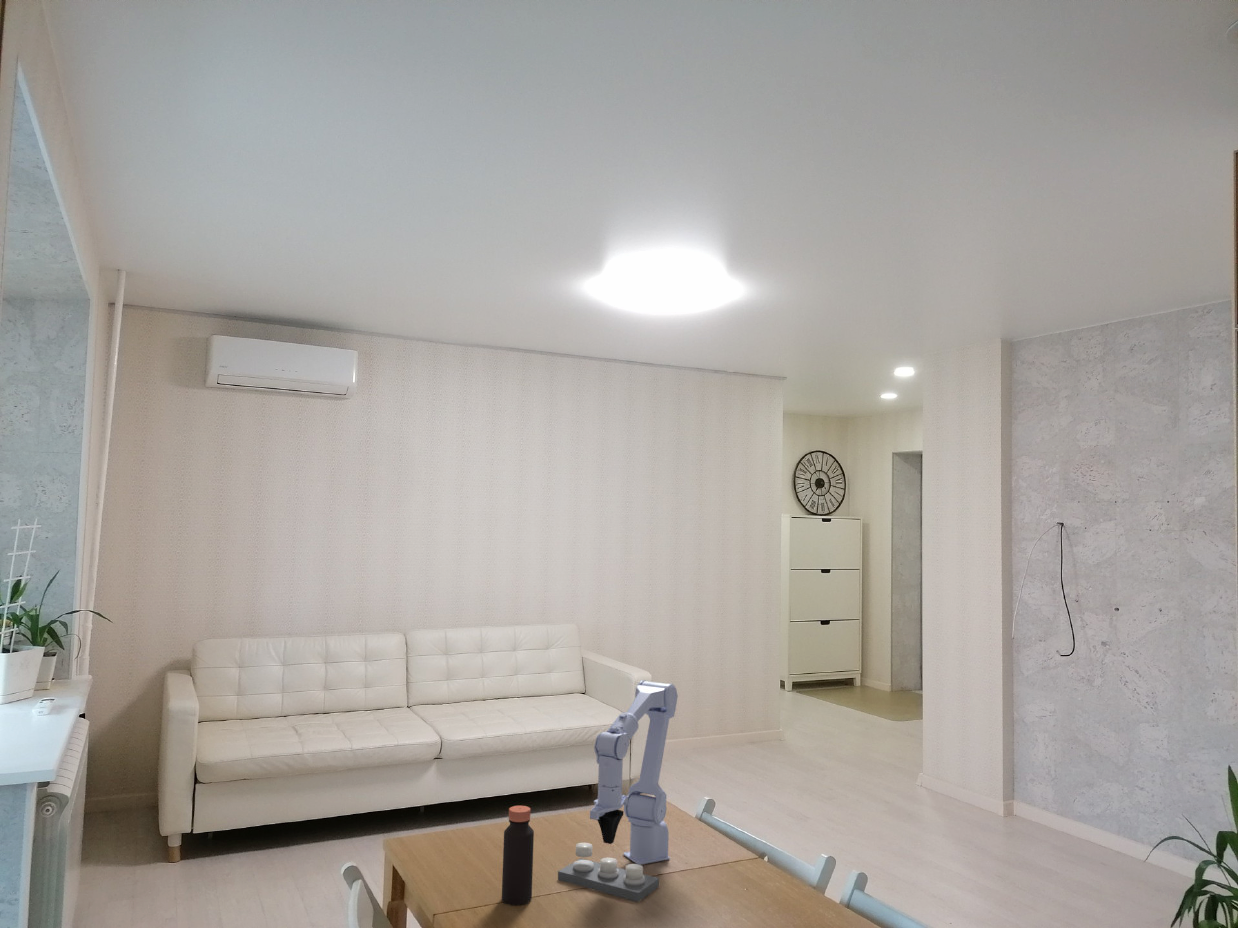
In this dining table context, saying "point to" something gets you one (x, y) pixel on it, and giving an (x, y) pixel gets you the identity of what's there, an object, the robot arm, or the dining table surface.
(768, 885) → the dining table surface
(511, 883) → the bottle
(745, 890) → the dining table surface
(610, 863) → the knob
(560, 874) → the knob panel
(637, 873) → the knob
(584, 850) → the knob
